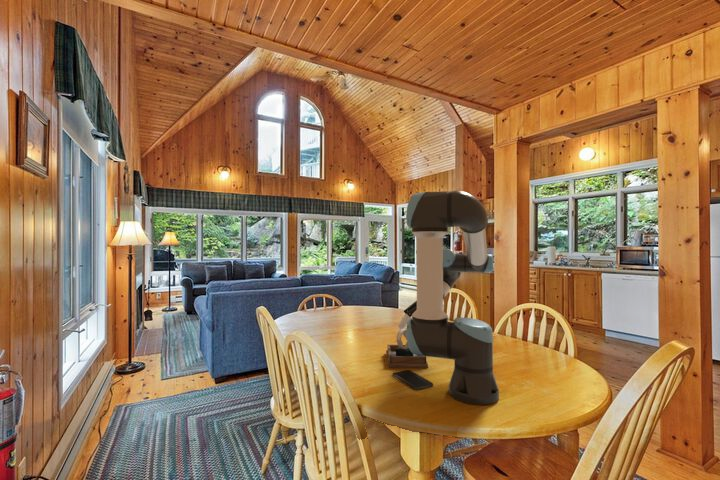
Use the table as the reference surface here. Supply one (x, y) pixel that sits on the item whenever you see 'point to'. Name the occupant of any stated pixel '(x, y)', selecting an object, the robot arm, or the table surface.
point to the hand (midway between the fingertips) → (409, 331)
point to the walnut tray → (404, 359)
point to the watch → (402, 349)
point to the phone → (412, 380)
